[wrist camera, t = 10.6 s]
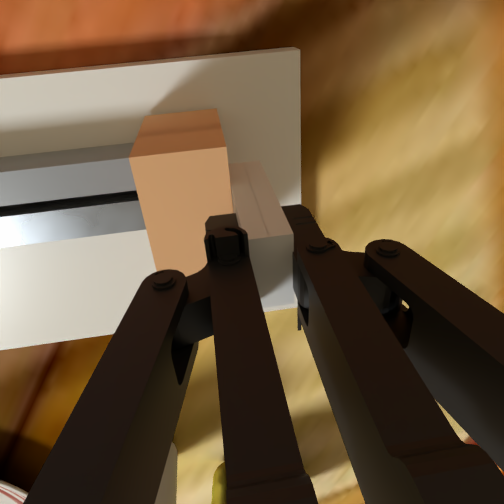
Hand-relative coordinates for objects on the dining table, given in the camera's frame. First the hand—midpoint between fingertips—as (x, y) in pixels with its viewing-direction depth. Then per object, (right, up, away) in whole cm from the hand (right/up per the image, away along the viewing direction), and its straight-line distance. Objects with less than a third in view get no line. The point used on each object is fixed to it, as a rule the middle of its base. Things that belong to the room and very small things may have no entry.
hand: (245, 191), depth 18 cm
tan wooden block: (-3, +1, +4) cm, 5 cm away
